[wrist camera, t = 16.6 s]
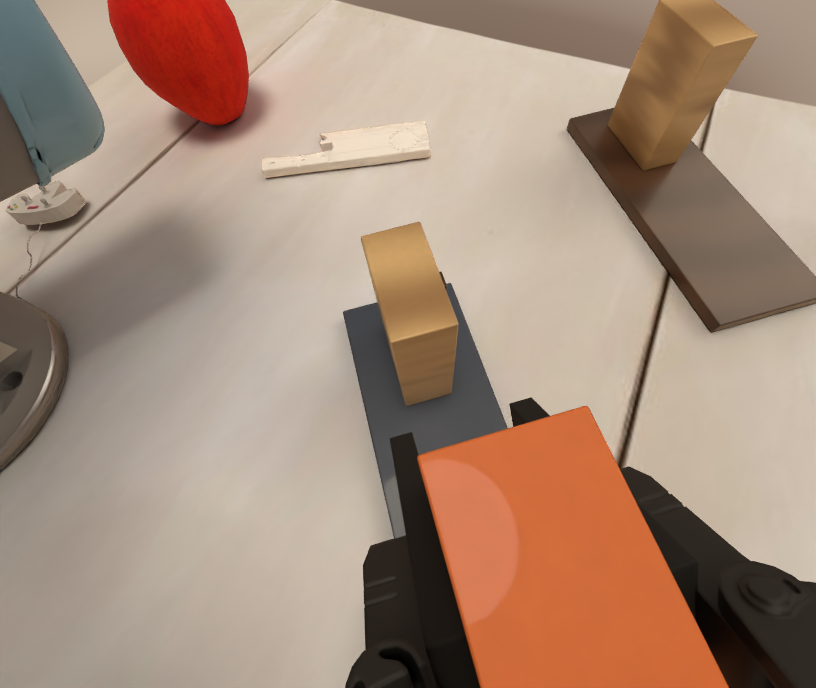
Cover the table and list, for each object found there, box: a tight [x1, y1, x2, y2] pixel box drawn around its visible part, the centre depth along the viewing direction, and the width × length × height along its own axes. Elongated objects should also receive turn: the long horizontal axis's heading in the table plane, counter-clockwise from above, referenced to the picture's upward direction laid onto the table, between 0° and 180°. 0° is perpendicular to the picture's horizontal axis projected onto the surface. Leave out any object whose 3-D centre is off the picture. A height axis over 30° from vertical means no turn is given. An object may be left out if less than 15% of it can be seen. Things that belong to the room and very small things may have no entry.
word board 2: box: [567, 108, 816, 332], centre depth 31 cm, size 22×8×1 cm, turn 15°
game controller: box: [6, 181, 86, 299], centre depth 33 cm, size 6×12×3 cm, turn 22°
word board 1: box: [343, 283, 508, 538], centre depth 23 cm, size 22×8×1 cm, turn 15°
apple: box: [107, 0, 249, 125], centre depth 35 cm, size 10×10×12 cm
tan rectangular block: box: [608, 0, 758, 171], centre depth 29 cm, size 6×3×9 cm, turn 15°
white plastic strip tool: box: [262, 121, 430, 178], centre depth 36 cm, size 5×15×1 cm, turn 95°
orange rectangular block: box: [417, 406, 729, 688], centre depth 9 cm, size 6×3×9 cm, turn 15°
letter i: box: [361, 222, 459, 406], centre depth 22 cm, size 6×3×9 cm, turn 15°
